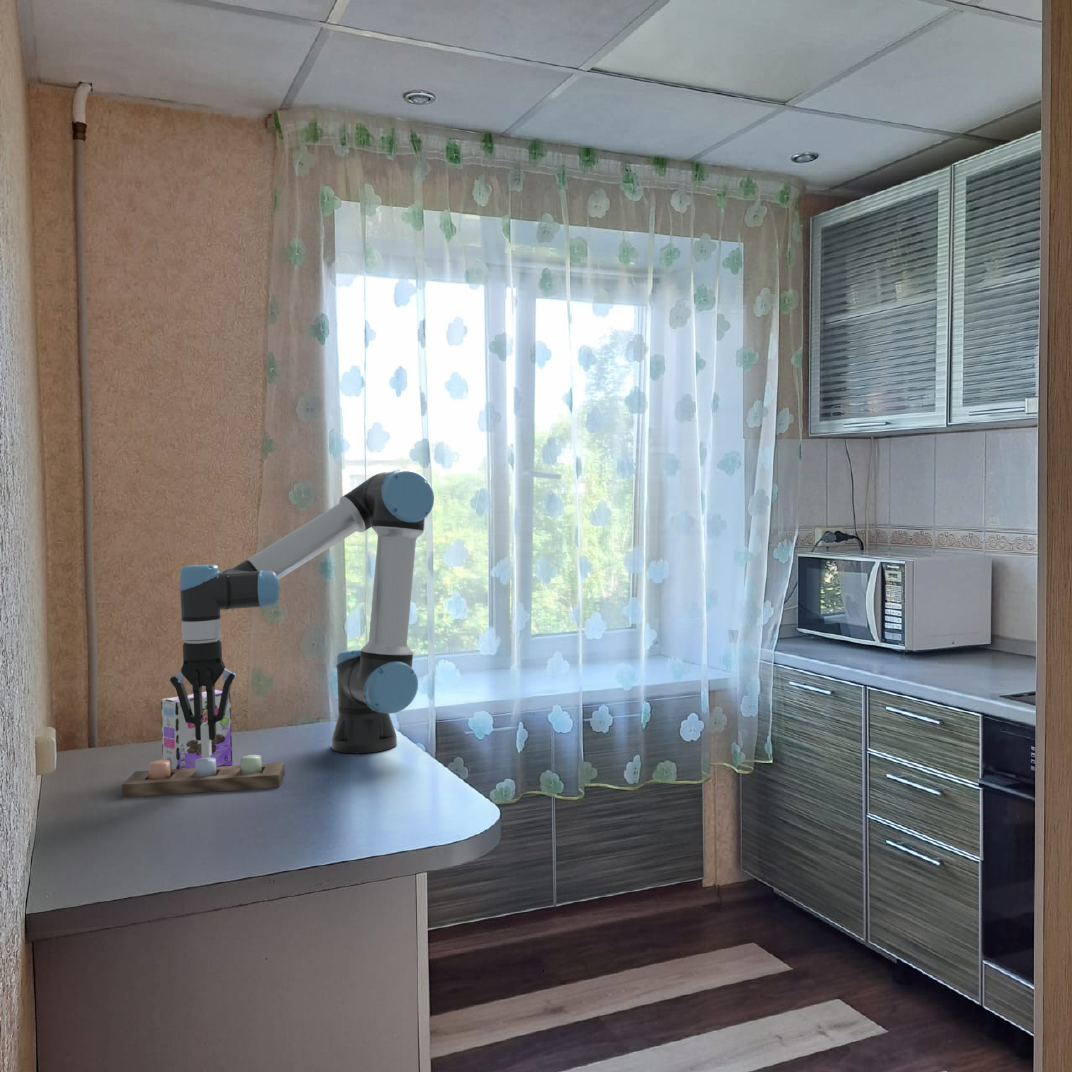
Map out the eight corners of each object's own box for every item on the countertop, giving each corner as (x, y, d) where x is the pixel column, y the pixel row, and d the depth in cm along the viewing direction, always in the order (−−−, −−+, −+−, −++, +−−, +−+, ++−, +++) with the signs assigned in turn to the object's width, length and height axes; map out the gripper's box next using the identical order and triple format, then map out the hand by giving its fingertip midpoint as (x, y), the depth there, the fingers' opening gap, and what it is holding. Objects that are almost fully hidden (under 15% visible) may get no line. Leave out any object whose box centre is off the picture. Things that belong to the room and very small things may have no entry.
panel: (284, 774, 206) (284, 762, 206) (278, 787, 196) (278, 774, 196) (135, 783, 202) (135, 771, 202) (122, 797, 192) (122, 784, 192)
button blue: (218, 776, 201) (217, 756, 201) (214, 781, 197) (213, 761, 197) (198, 777, 201) (197, 758, 201) (194, 782, 197) (193, 762, 197)
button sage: (262, 773, 202) (262, 754, 202) (260, 778, 198) (259, 758, 198) (243, 774, 202) (242, 755, 202) (240, 779, 198) (239, 760, 198)
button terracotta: (172, 778, 200) (172, 759, 200) (168, 784, 196) (167, 764, 196) (152, 780, 199) (151, 760, 199) (147, 785, 195) (146, 765, 195)
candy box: (177, 779, 205) (175, 701, 204) (161, 775, 208) (159, 698, 208) (233, 764, 216) (231, 690, 215) (217, 761, 219) (215, 688, 219)
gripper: (237, 636, 203) (242, 749, 204) (172, 639, 201) (177, 753, 202) (231, 641, 196) (236, 757, 196) (164, 644, 194) (169, 762, 194)
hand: (206, 755), depth 199 cm, fingers closed
